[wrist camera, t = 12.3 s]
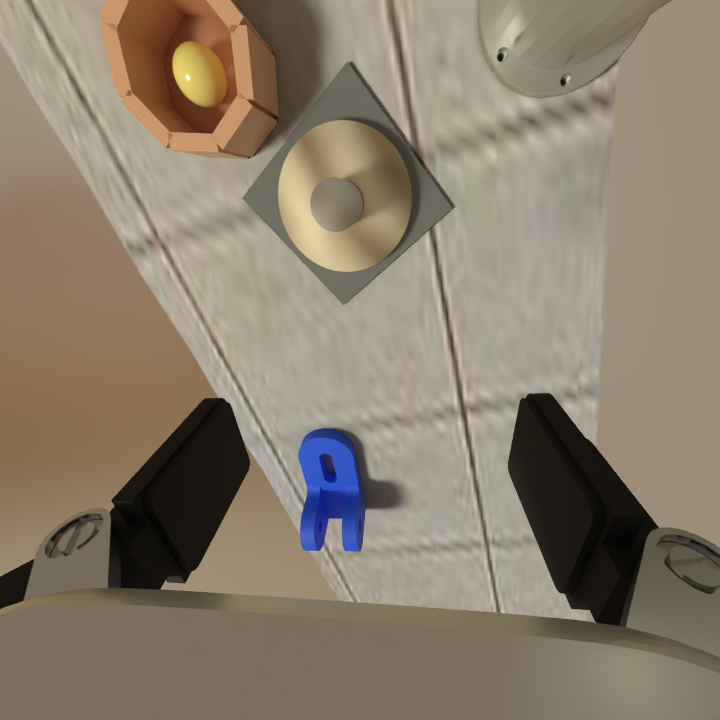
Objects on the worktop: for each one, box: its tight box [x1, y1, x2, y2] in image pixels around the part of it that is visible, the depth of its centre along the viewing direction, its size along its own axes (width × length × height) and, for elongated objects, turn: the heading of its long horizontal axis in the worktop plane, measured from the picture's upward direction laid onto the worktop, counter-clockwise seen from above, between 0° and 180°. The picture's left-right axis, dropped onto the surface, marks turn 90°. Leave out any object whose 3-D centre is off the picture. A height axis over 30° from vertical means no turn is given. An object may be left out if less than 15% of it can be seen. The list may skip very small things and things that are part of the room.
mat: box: [243, 62, 452, 305], centre depth 31 cm, size 15×15×1 cm
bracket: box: [298, 429, 366, 551], centre depth 46 cm, size 18×8×9 cm, turn 7°
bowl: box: [99, 0, 279, 159], centre depth 25 cm, size 11×11×6 cm
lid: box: [278, 120, 412, 272], centre depth 28 cm, size 13×13×7 cm
